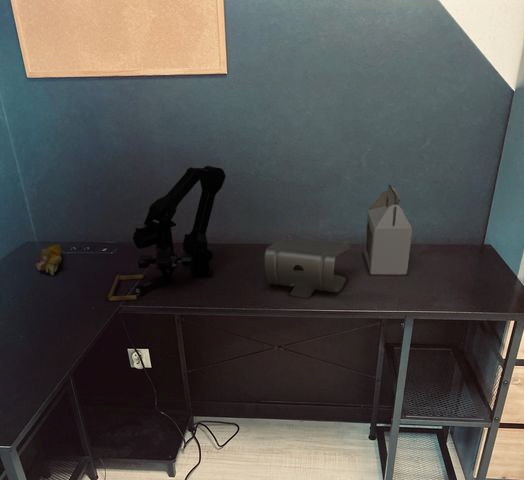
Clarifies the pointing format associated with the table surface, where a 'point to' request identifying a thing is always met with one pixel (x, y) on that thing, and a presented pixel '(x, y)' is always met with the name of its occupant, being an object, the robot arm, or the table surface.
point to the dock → (112, 291)
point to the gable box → (387, 236)
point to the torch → (50, 259)
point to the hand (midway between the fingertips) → (169, 283)
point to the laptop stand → (304, 265)
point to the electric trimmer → (149, 285)
